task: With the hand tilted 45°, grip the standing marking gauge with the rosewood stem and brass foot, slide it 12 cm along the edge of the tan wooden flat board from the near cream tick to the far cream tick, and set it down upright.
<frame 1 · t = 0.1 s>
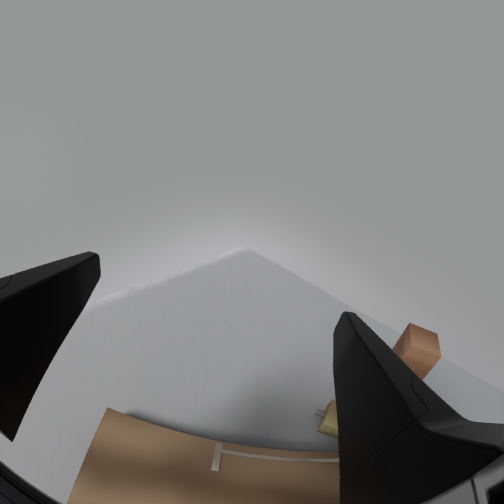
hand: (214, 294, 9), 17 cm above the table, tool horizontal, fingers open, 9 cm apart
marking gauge: (349, 428, 21), on the table
tan wooden flat board: (235, 503, 14), on the table
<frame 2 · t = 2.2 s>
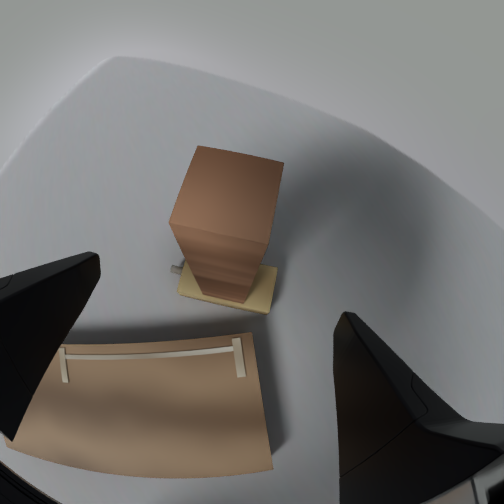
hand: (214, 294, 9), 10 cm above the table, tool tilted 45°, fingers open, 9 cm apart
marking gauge: (227, 284, 19), on the table
tan wooden flat board: (106, 408, 15), on the table
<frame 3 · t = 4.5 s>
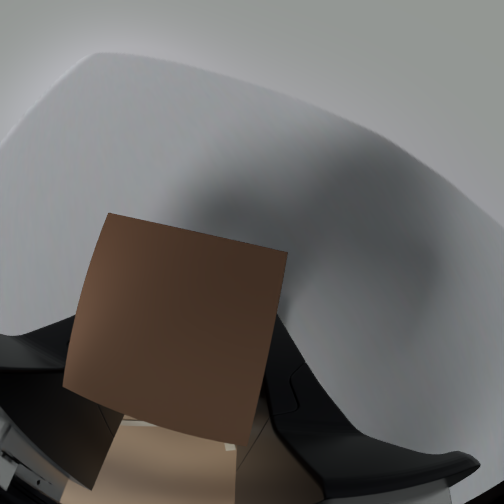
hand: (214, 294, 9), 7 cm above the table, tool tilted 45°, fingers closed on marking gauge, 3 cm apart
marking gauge: (214, 336, 15), on the table, touching gripper
tan wooden flat board: (86, 461, 11), on the table
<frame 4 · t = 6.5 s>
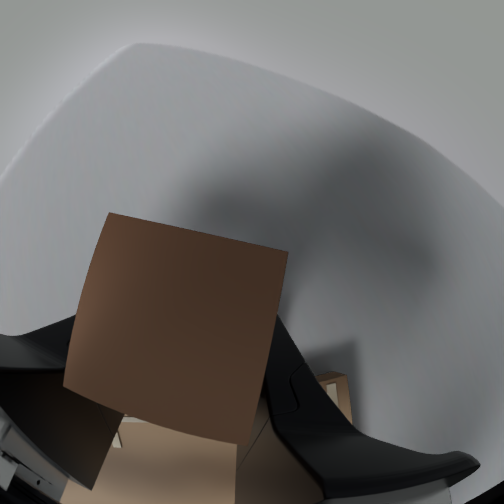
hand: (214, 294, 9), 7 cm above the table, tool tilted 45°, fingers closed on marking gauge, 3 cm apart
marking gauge: (214, 336, 15), on the table, touching gripper
tan wooden flat board: (166, 465, 13), on the table
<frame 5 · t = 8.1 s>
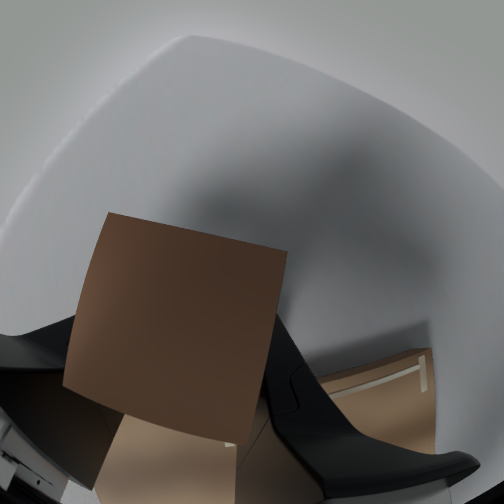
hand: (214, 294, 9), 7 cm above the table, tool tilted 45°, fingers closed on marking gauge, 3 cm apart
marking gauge: (214, 336, 15), on the table, touching gripper
tan wooden flat board: (268, 457, 13), on the table
when the fingers open (7 cm above the table, at t = 8.8 s): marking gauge stays where it is, on the table.
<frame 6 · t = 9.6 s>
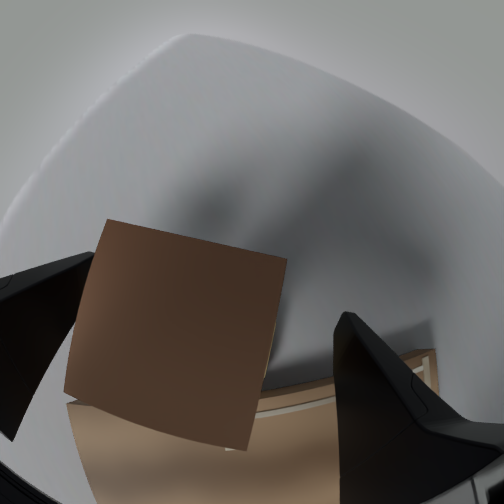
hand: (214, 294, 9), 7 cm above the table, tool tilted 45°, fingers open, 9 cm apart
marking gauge: (214, 338, 15), on the table
tan wooden flat board: (269, 461, 13), on the table
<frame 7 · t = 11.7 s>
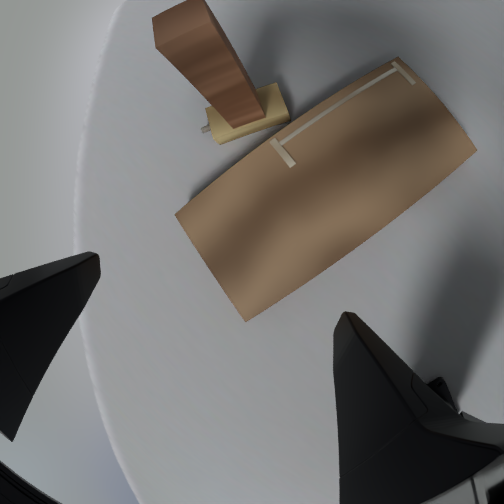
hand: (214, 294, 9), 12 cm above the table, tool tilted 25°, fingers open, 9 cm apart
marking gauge: (249, 116, 21), on the table
tan wooden flat board: (334, 179, 19), on the table
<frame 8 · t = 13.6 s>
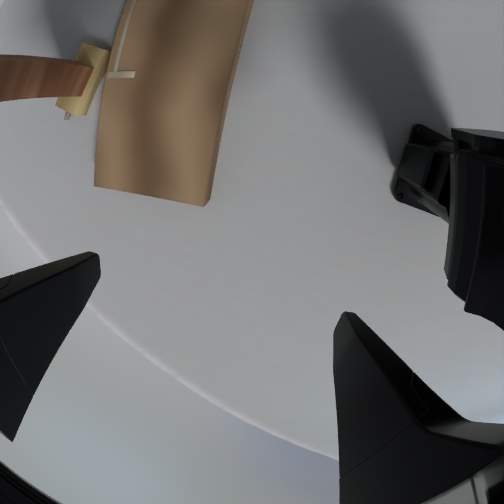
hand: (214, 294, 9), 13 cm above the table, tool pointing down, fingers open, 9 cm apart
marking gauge: (88, 79, 17), on the table
tan wooden flat board: (176, 54, 16), on the table
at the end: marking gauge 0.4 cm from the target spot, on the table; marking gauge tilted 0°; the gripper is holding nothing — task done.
